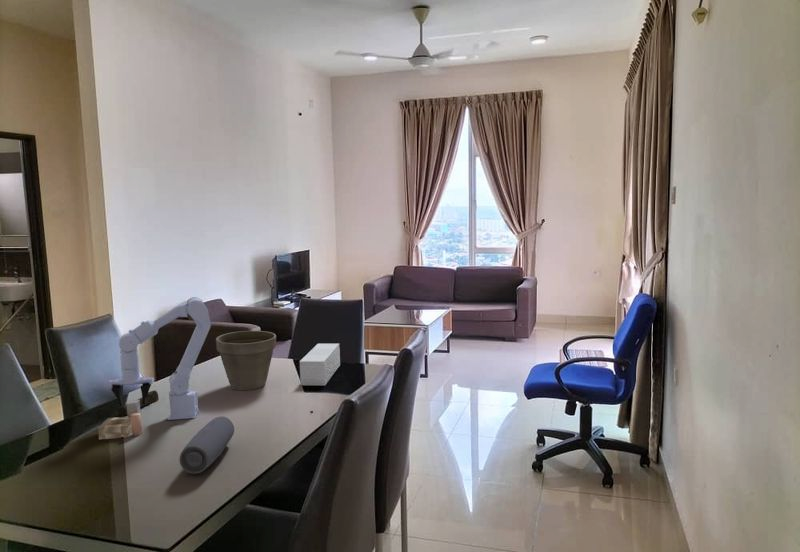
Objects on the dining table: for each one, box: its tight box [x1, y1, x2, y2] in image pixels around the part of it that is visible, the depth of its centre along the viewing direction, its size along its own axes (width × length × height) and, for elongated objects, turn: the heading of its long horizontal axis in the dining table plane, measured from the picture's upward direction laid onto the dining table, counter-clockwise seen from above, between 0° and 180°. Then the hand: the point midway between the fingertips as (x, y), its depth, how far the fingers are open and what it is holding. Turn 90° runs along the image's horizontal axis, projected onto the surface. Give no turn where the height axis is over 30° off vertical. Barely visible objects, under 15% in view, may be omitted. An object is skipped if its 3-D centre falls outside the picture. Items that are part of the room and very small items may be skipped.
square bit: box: [126, 399, 142, 417], centre depth 199 cm, size 3×3×8 cm
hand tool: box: [117, 389, 159, 417], centre depth 215 cm, size 19×4×5 cm, turn 159°
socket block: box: [97, 416, 132, 440], centre depth 190 cm, size 9×9×4 cm
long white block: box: [299, 343, 341, 386], centre depth 254 cm, size 32×11×11 cm, turn 174°
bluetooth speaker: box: [178, 416, 235, 474], centre depth 168 cm, size 23×9×10 cm, turn 178°
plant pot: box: [215, 330, 277, 391], centre depth 239 cm, size 25×25×22 cm
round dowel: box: [131, 412, 143, 436], centre depth 189 cm, size 3×3×7 cm
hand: (133, 404), depth 199 cm, fingers open, 7 cm apart
